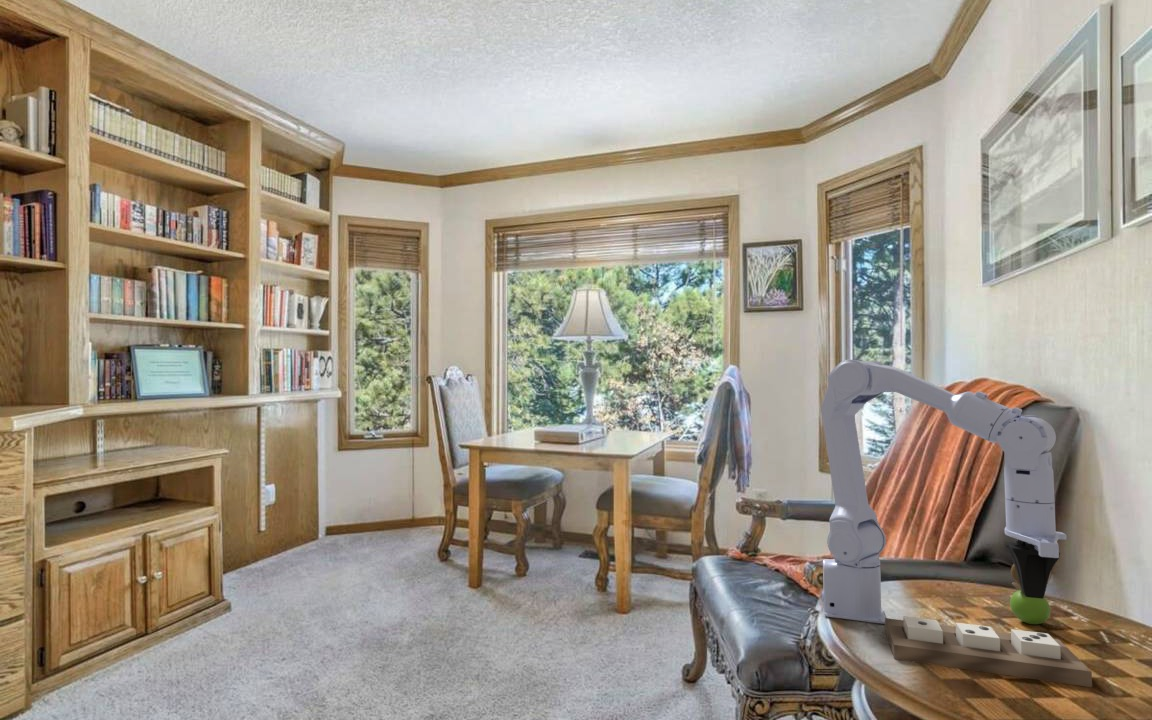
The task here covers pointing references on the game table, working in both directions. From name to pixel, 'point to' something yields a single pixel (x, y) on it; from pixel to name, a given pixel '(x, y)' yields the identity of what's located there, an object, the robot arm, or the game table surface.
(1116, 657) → the game table surface
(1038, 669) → the key board
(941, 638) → the tile one pip
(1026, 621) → the snail figurine
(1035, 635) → the tile three pips
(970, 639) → the tile two pips
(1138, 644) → the game table surface
